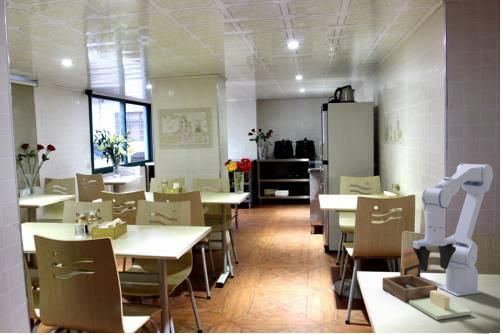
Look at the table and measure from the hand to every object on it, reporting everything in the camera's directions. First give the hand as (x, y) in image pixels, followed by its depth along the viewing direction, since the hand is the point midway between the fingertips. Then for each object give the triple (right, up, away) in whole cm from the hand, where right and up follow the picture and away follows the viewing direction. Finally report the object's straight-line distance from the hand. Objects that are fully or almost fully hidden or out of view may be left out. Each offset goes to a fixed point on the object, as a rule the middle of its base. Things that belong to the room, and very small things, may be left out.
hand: (433, 269), depth 128 cm
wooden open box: (-5, -10, +8) cm, 13 cm away
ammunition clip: (+1, -9, +22) cm, 24 cm away
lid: (-1, -11, -6) cm, 12 cm away
